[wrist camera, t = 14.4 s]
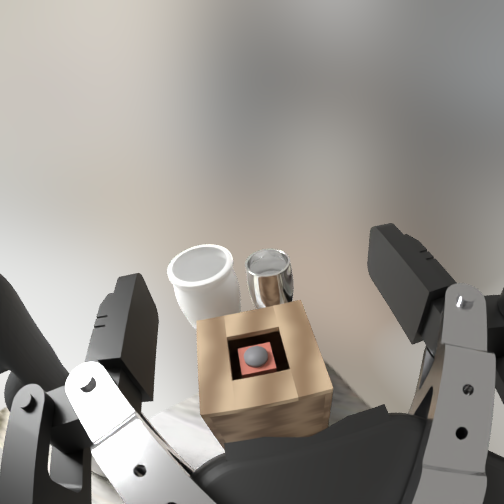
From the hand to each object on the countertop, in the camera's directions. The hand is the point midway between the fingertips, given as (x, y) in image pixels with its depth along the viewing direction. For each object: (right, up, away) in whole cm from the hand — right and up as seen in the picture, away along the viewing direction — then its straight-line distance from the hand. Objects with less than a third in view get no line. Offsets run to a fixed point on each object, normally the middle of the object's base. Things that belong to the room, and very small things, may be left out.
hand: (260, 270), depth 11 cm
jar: (-6, -13, +46) cm, 48 cm away
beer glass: (+4, -13, +44) cm, 46 cm away
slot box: (+2, -21, +32) cm, 39 cm away
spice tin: (+2, -21, +32) cm, 38 cm away
